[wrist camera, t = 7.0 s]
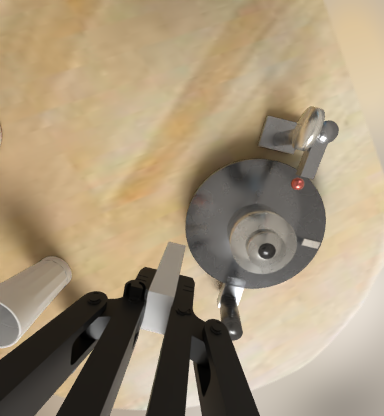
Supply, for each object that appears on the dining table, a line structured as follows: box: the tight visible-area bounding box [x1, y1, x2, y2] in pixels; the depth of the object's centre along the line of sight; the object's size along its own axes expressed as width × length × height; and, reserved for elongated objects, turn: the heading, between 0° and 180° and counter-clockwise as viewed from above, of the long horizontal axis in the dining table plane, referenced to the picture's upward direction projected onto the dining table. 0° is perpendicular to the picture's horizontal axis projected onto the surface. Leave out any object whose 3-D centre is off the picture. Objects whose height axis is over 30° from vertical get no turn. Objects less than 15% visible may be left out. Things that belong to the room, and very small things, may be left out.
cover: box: [227, 204, 297, 274], centre depth 28 cm, size 8×8×7 cm
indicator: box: [257, 106, 339, 190], centre depth 24 cm, size 8×5×14 cm, turn 167°
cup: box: [0, 256, 72, 348], centre depth 33 cm, size 8×8×12 cm
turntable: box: [186, 159, 326, 340], centre depth 30 cm, size 25×20×7 cm
